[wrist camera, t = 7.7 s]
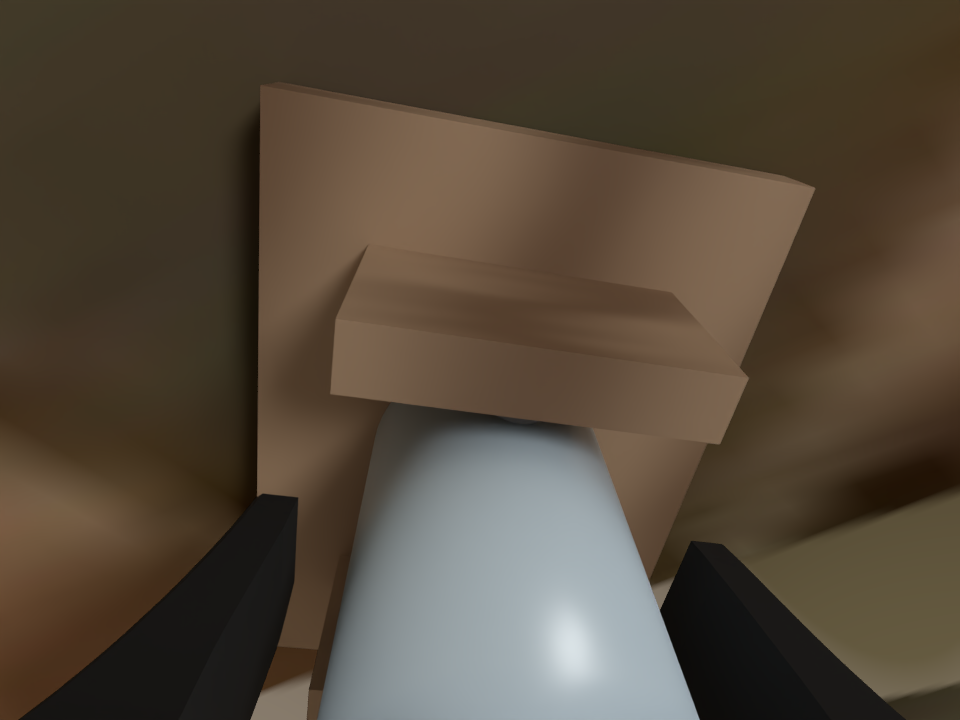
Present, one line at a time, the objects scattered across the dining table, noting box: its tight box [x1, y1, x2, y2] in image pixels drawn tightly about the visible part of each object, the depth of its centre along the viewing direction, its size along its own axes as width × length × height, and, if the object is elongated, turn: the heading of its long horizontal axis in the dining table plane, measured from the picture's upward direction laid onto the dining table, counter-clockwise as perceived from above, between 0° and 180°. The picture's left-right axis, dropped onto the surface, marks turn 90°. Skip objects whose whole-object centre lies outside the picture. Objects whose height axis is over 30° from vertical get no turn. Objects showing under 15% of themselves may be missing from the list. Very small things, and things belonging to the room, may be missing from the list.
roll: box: [317, 402, 700, 720], centre depth 10 cm, size 5×5×7 cm
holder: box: [257, 82, 815, 720], centre depth 13 cm, size 10×14×5 cm
